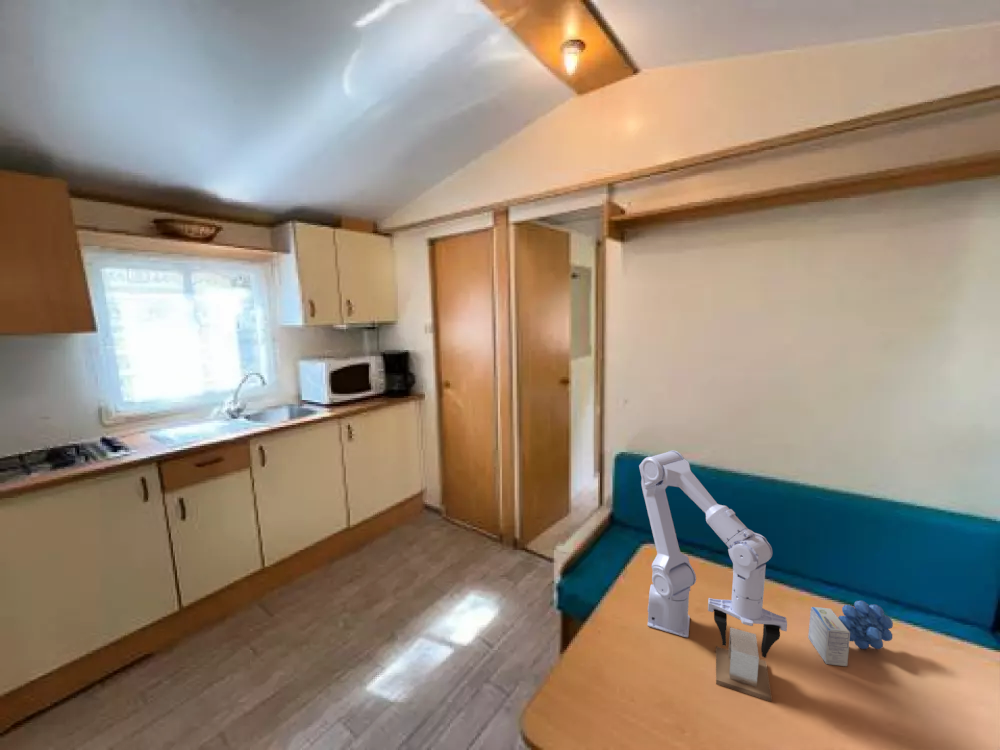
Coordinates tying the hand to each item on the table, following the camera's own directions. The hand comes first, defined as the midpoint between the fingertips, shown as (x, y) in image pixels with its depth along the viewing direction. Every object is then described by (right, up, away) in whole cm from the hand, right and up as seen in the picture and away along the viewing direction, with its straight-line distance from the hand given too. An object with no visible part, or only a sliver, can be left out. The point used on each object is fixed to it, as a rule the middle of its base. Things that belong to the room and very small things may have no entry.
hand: (743, 648), depth 92 cm
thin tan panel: (0, -6, +1) cm, 6 cm away
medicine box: (+23, -5, +6) cm, 24 cm away
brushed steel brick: (0, -5, +1) cm, 5 cm away
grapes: (+32, -5, +6) cm, 33 cm away
